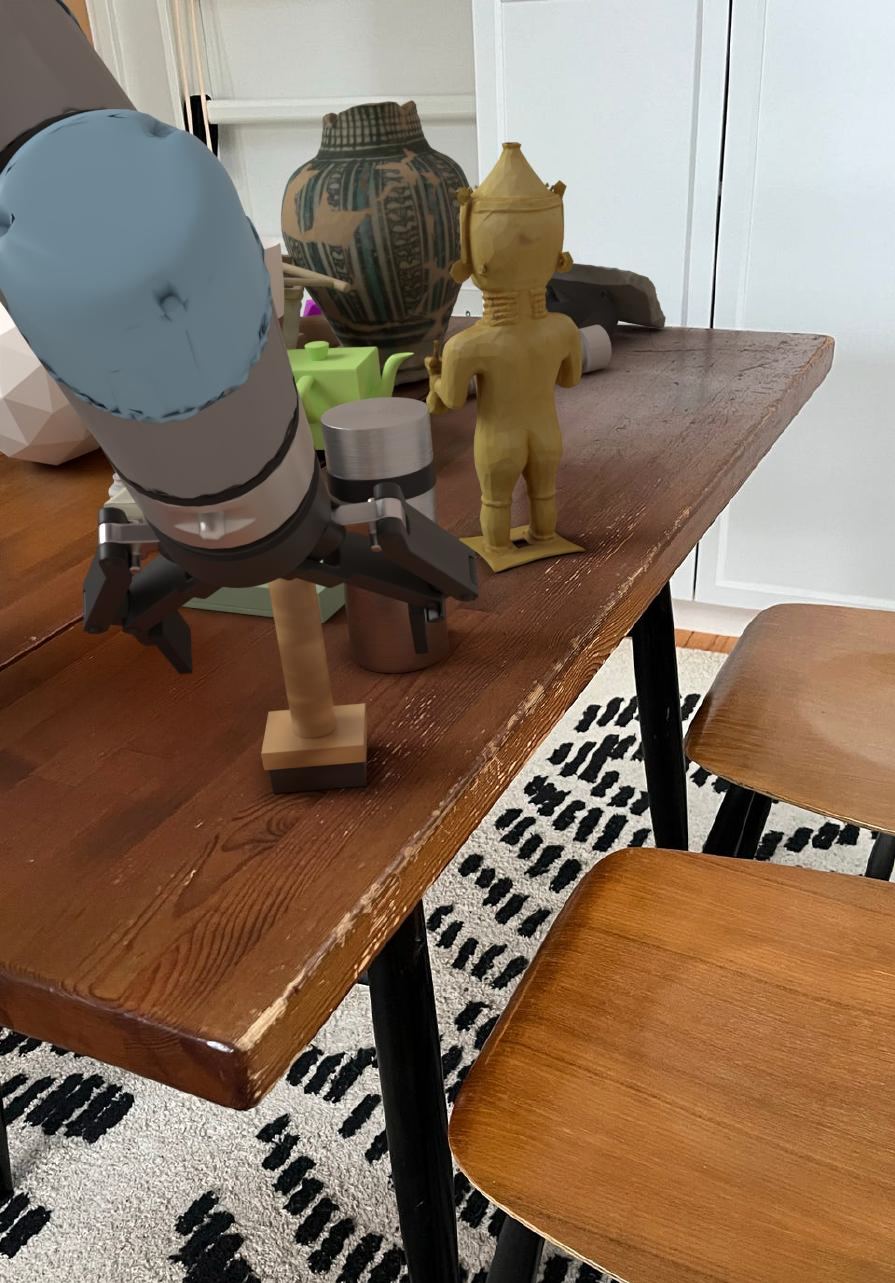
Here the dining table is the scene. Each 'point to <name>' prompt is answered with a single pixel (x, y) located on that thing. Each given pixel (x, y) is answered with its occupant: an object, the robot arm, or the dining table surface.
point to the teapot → (339, 378)
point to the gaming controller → (586, 311)
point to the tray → (264, 600)
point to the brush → (310, 704)
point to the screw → (584, 351)
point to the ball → (35, 406)
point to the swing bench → (301, 296)
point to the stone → (611, 292)
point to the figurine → (512, 354)
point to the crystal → (311, 308)
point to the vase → (379, 232)
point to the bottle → (357, 461)
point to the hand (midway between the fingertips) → (302, 641)
